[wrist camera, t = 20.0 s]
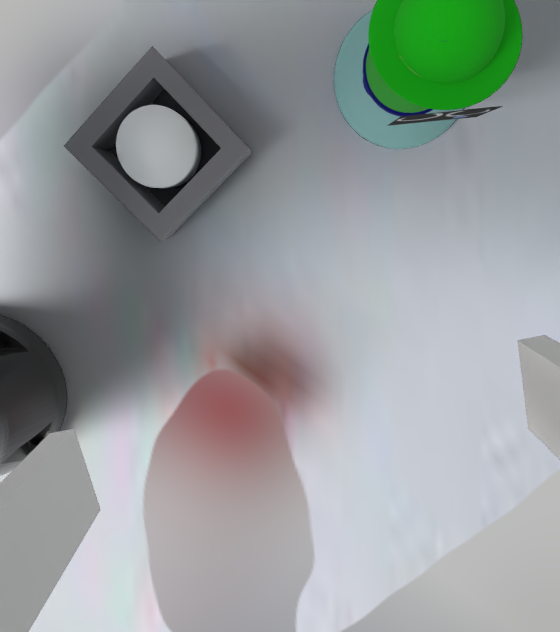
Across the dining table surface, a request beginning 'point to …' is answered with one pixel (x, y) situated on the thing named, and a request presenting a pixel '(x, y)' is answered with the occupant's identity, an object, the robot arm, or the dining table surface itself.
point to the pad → (362, 107)
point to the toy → (439, 56)
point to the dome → (158, 147)
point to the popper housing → (97, 158)
